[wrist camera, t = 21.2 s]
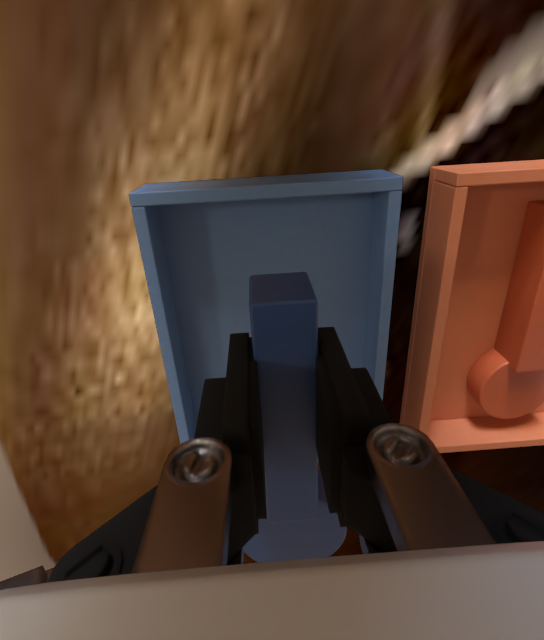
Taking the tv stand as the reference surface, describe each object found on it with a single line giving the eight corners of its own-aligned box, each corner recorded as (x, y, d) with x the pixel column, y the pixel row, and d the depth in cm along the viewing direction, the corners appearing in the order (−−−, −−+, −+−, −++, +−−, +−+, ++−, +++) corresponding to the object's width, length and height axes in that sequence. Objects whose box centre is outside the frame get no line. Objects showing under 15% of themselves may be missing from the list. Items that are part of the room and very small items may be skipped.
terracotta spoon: (502, 202, 17) (532, 211, 15) (589, 196, 17) (628, 205, 15) (460, 405, 22) (479, 430, 20) (527, 400, 22) (552, 424, 20)
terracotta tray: (430, 166, 17) (458, 172, 14) (661, 152, 17) (724, 156, 15) (399, 423, 23) (415, 455, 21) (567, 410, 23) (601, 441, 21)
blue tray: (144, 183, 16) (127, 193, 14) (383, 169, 17) (404, 176, 14) (192, 438, 23) (186, 473, 20) (365, 425, 23) (377, 458, 21)
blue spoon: (208, 277, 11) (200, 307, 9) (347, 267, 11) (366, 295, 9) (243, 537, 16) (242, 590, 14) (338, 529, 16) (349, 581, 14)
